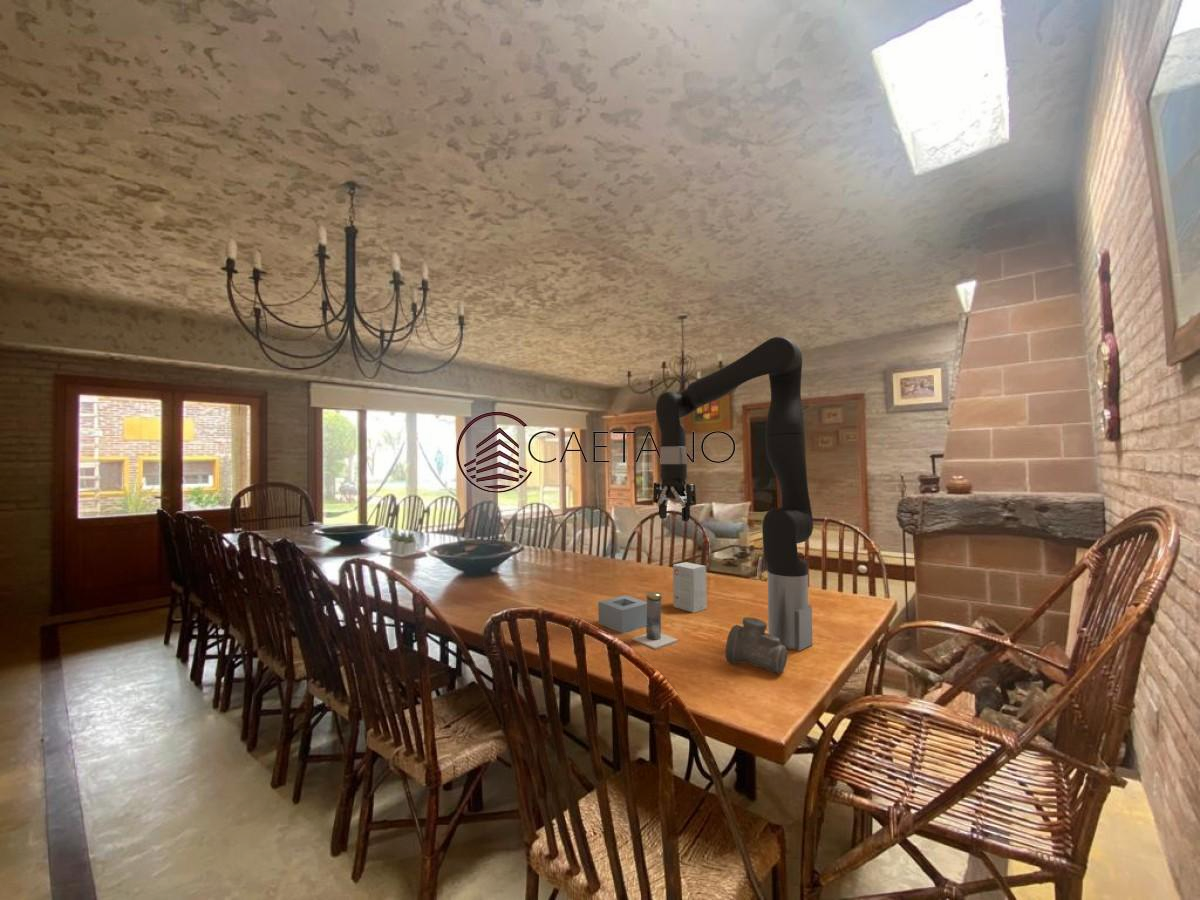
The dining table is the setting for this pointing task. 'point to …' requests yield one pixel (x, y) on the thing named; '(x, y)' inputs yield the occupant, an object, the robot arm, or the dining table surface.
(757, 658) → the pipe fitting
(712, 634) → the dining table surface
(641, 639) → the coaster
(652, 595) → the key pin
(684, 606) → the small box
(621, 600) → the block
